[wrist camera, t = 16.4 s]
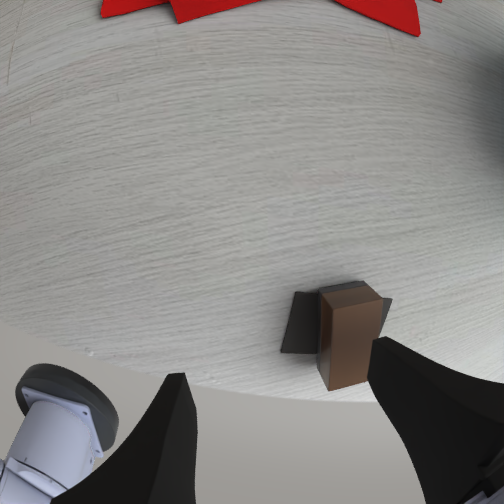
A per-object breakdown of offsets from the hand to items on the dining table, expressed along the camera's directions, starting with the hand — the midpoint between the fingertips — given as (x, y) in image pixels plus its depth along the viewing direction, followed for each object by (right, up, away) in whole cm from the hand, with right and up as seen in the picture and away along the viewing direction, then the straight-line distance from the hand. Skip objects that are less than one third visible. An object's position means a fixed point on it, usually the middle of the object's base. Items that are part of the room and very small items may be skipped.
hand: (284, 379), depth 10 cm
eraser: (+5, -1, +11) cm, 12 cm away
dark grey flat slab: (+5, -1, +11) cm, 12 cm away
